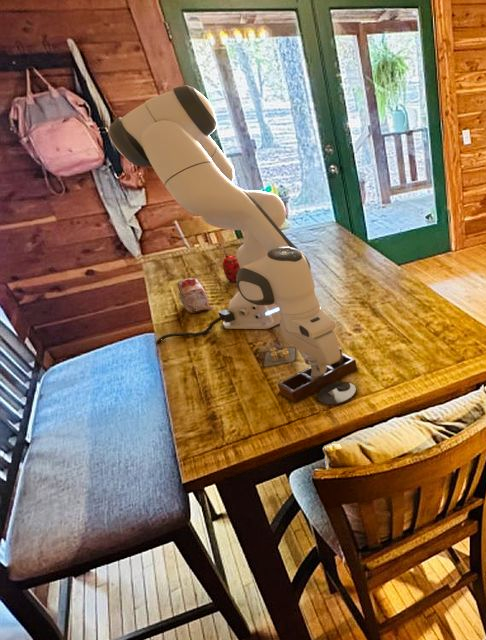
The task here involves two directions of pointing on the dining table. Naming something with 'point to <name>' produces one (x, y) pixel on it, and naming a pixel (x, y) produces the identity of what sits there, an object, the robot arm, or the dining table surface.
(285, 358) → the dice set
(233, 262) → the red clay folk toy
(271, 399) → the dining table surface
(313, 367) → the rook chess piece
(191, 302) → the food item
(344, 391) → the coaster
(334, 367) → the spice tin
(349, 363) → the spice rack
